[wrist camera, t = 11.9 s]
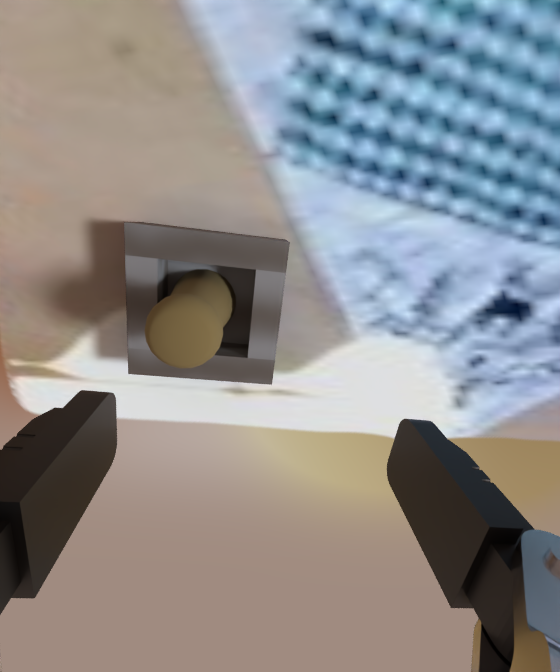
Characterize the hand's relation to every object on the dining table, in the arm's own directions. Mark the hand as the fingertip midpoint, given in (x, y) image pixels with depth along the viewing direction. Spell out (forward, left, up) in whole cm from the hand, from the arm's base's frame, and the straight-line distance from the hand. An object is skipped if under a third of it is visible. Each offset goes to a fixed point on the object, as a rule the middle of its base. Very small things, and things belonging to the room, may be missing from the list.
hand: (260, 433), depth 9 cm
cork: (+2, -5, -24) cm, 24 cm away
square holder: (+2, -4, -24) cm, 24 cm away
